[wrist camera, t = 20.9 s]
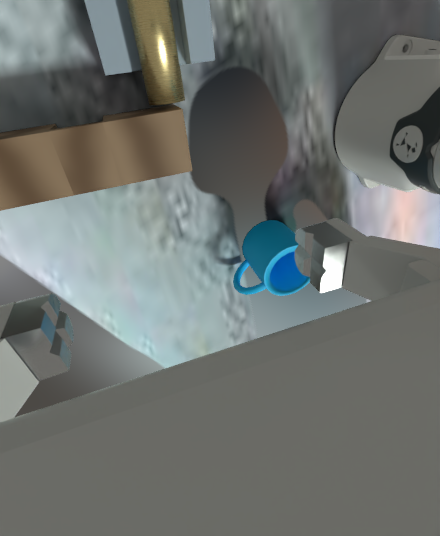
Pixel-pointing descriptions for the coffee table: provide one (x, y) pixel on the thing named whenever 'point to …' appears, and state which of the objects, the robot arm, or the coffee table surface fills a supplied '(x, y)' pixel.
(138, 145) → the beam
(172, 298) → the coffee table surface
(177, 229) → the coffee table surface
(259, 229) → the mug
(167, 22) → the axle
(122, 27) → the cradle
